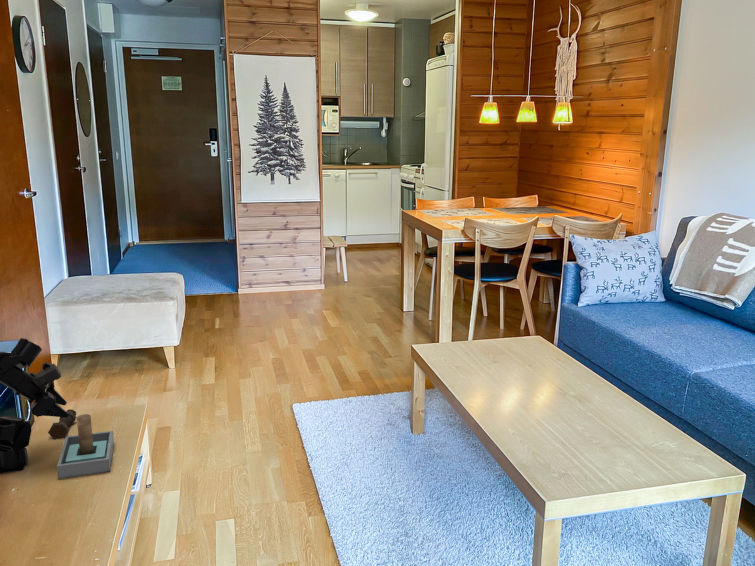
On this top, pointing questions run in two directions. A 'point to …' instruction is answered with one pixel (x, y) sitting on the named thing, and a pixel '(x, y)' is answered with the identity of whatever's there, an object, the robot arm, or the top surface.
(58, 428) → the bolt
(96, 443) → the rim box
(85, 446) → the peg
